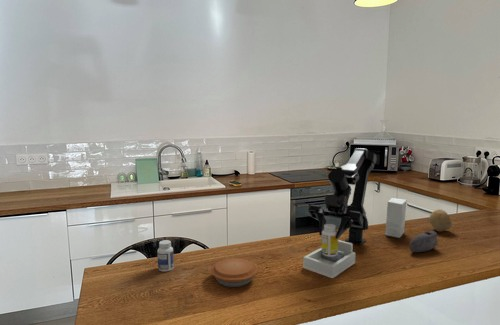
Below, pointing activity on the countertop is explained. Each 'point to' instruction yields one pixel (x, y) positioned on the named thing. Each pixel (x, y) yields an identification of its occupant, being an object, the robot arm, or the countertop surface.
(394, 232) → the skincare box
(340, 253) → the pusher plate
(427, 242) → the perforated stone tool
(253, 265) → the pie
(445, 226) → the natural sponge
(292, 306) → the countertop surface
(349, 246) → the pusher lane
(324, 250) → the supplement bottle
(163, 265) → the pill bottle
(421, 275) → the countertop surface
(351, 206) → the robot arm
